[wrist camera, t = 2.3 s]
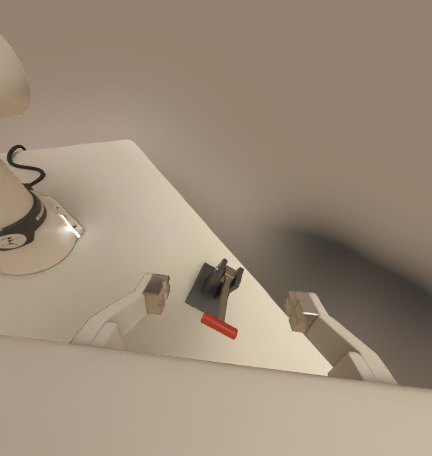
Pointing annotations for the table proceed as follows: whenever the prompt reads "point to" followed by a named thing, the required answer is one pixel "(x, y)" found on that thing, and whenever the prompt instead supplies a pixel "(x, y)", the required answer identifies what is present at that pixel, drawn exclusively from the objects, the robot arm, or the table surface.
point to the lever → (222, 308)
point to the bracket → (211, 288)
